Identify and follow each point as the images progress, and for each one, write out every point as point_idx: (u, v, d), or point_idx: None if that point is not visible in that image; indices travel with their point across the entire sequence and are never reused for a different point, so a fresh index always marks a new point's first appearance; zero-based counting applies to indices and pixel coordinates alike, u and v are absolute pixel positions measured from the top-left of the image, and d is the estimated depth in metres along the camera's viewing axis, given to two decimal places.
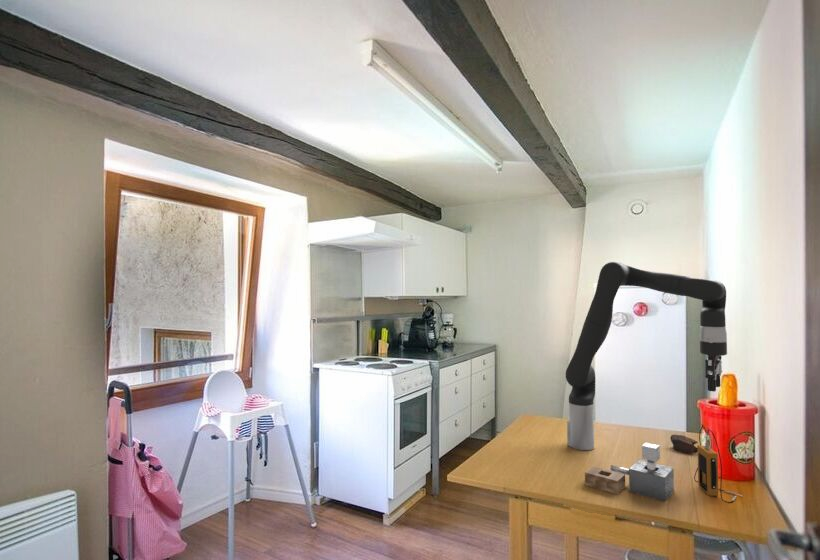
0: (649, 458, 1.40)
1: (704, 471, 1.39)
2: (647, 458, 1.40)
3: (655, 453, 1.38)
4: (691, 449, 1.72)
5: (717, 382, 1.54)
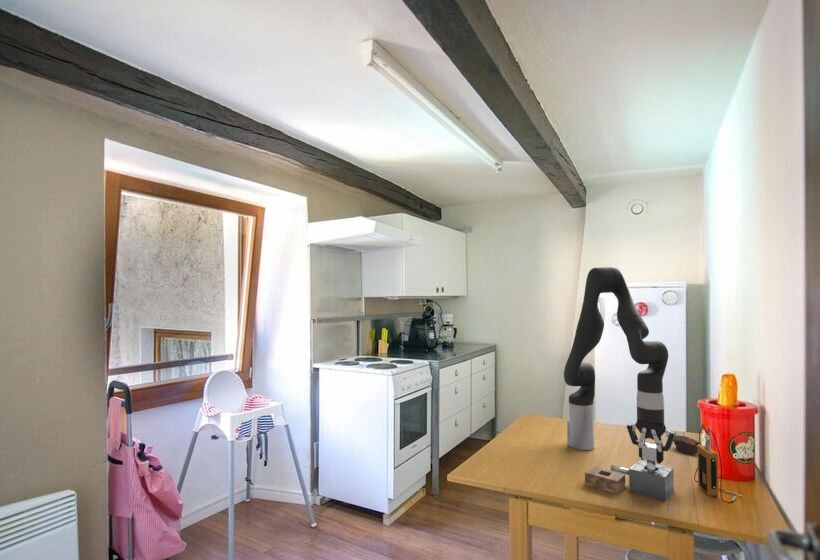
0: (649, 458, 1.40)
1: (704, 471, 1.39)
2: (647, 458, 1.40)
3: (655, 453, 1.38)
4: (694, 450, 1.71)
5: None
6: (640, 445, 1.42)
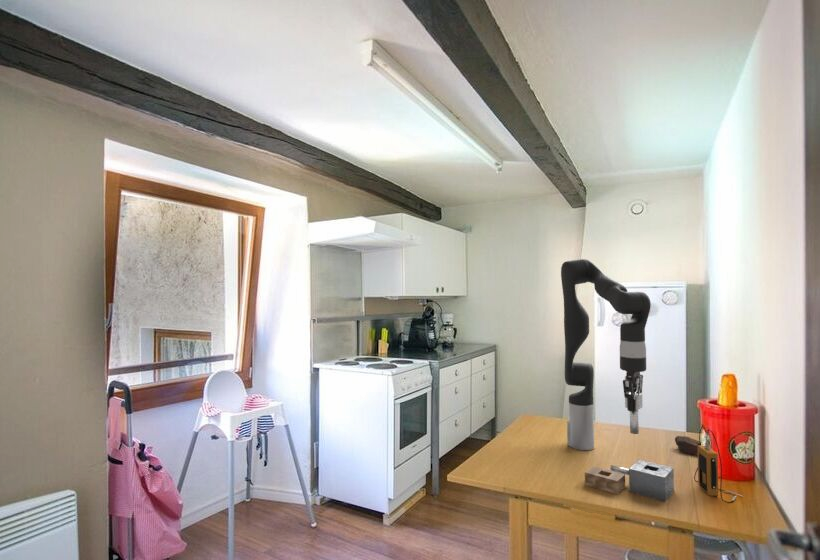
0: (640, 406, 1.42)
1: (704, 471, 1.39)
2: (640, 407, 1.41)
3: (641, 399, 1.43)
4: (697, 451, 1.70)
5: None
6: (635, 397, 1.40)
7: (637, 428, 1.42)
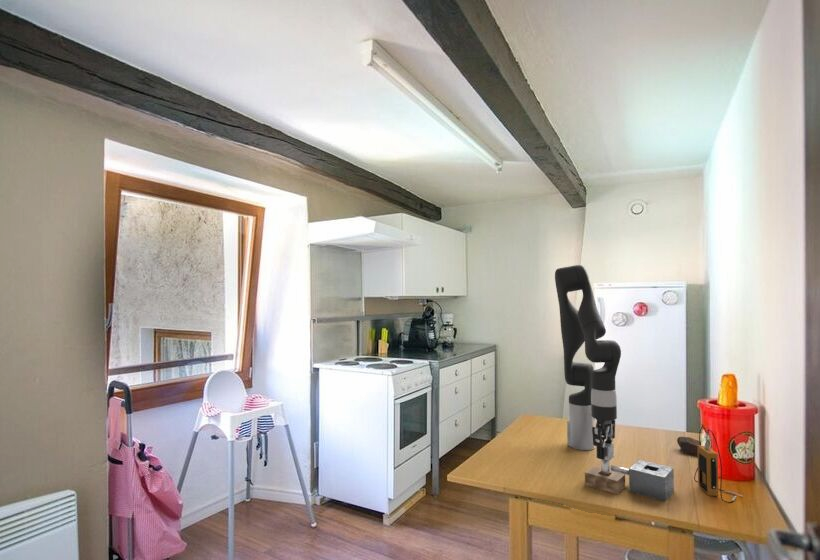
0: (611, 456, 1.44)
1: (704, 471, 1.39)
2: (611, 457, 1.43)
3: (613, 449, 1.45)
4: None
5: None
6: (604, 445, 1.41)
7: None
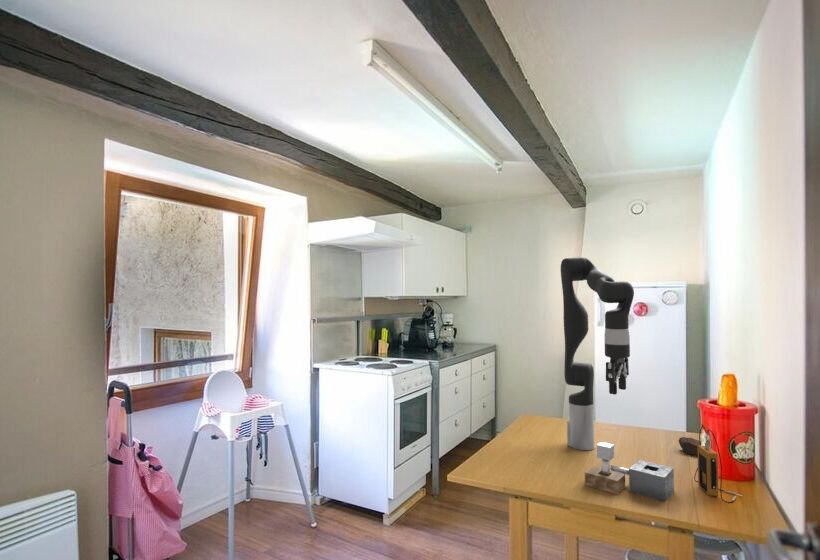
0: (612, 457, 1.44)
1: (704, 471, 1.39)
2: (611, 458, 1.43)
3: (613, 449, 1.45)
4: None
5: None
6: (616, 380, 1.45)
7: None
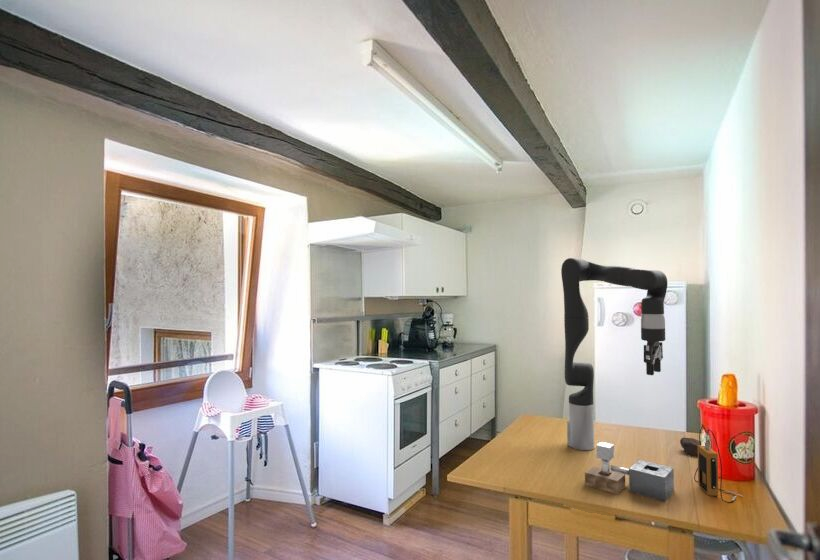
0: (611, 457, 1.44)
1: (704, 471, 1.39)
2: (611, 458, 1.43)
3: (613, 449, 1.45)
4: None
5: None
6: (653, 362, 1.55)
7: None
